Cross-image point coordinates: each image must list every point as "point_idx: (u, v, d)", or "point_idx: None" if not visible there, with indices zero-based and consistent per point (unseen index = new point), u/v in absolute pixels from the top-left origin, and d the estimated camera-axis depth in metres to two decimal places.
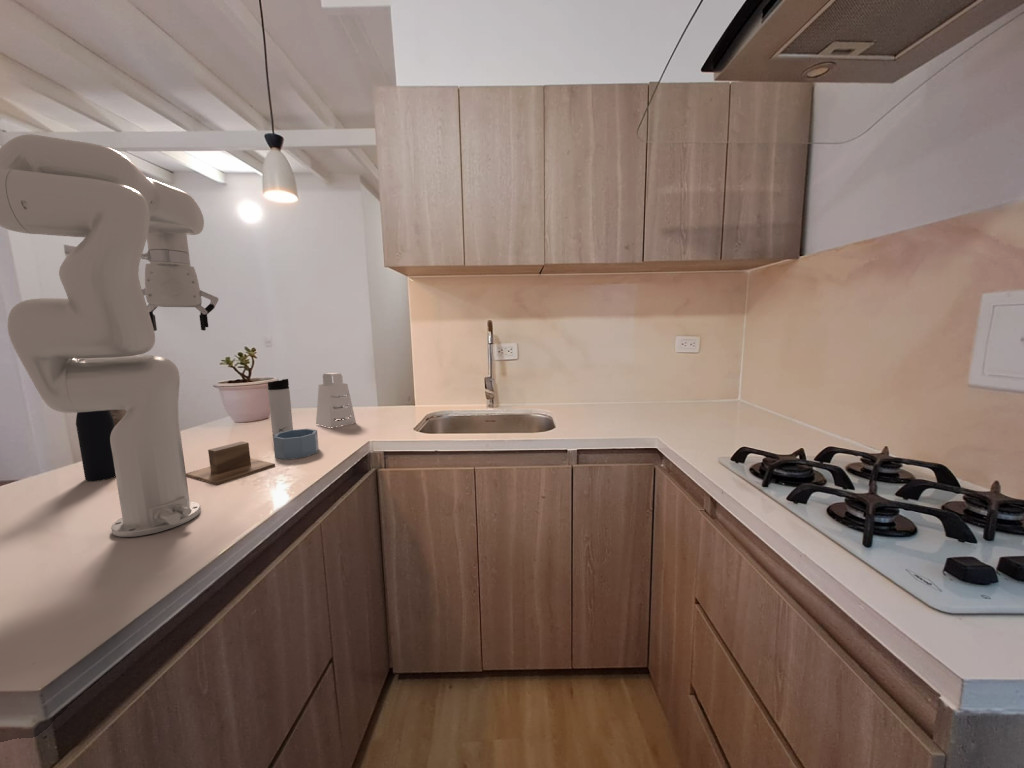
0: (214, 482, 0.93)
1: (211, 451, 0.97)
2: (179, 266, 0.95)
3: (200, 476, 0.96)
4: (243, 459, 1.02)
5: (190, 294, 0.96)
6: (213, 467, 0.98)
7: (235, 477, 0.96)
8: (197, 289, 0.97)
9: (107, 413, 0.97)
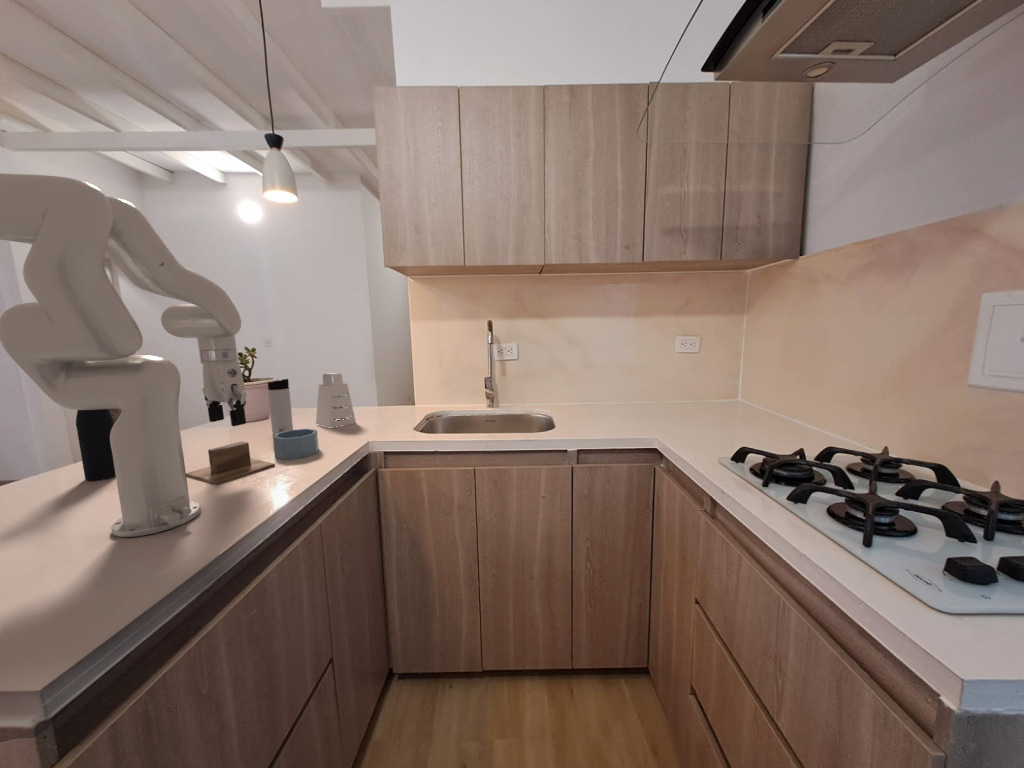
0: (214, 482, 0.93)
1: (211, 451, 0.97)
2: None
3: (200, 476, 0.96)
4: (243, 459, 1.02)
5: None
6: (213, 467, 0.98)
7: (235, 477, 0.96)
8: None
9: (107, 413, 0.97)
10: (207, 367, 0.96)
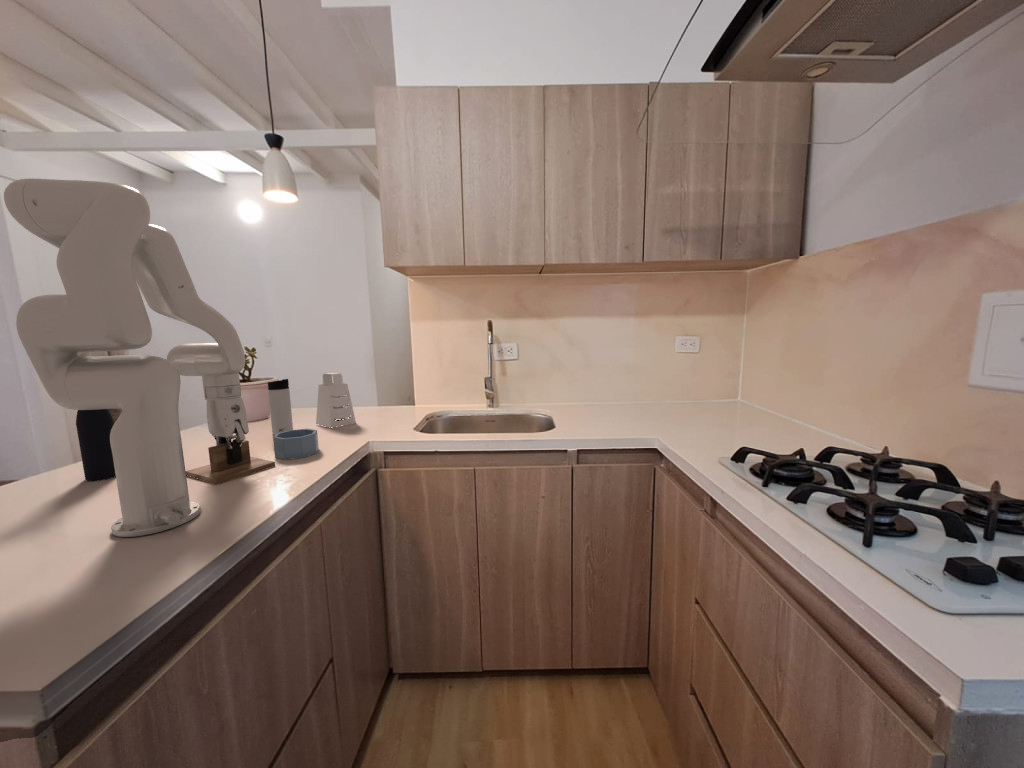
0: (214, 480, 0.93)
1: (211, 449, 0.97)
2: None
3: (200, 474, 0.96)
4: (243, 457, 1.02)
5: None
6: (213, 465, 0.98)
7: (235, 475, 0.96)
8: None
9: (107, 413, 0.97)
10: (211, 403, 0.97)
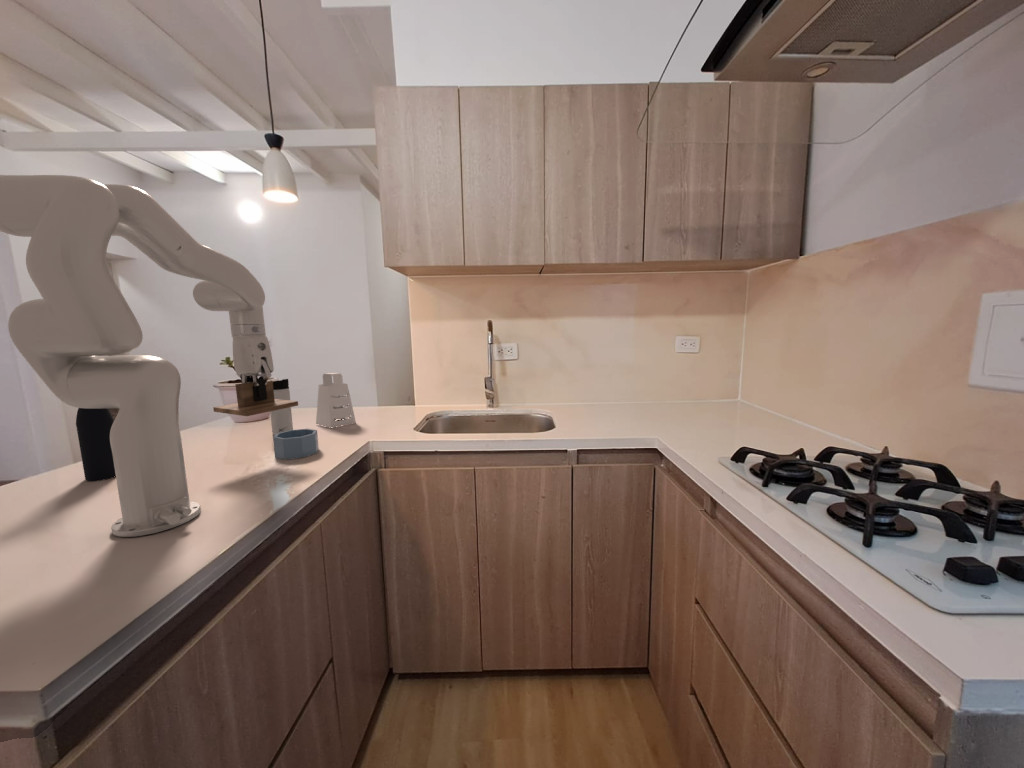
0: (244, 412, 0.97)
1: (238, 385, 1.01)
2: None
3: (228, 408, 1.00)
4: (267, 396, 1.07)
5: None
6: (240, 401, 1.02)
7: (262, 409, 1.00)
8: None
9: (107, 413, 0.97)
10: (238, 341, 1.01)
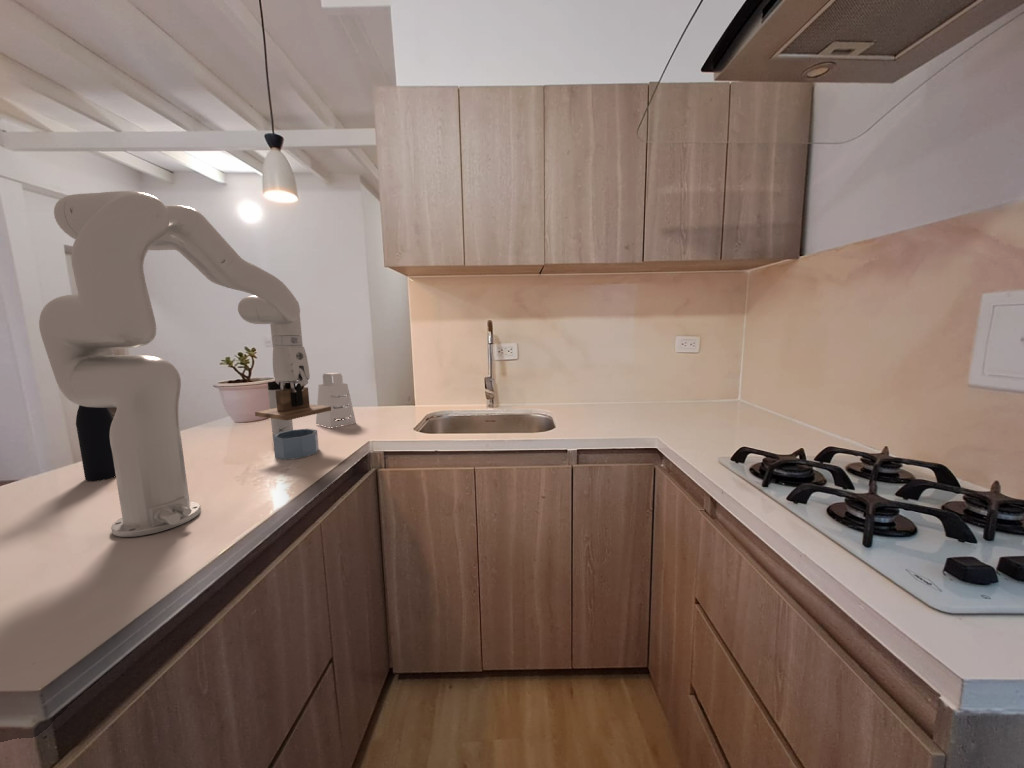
0: (284, 416, 1.05)
1: (278, 391, 1.10)
2: None
3: (269, 413, 1.09)
4: (303, 401, 1.15)
5: None
6: (280, 406, 1.10)
7: (300, 414, 1.08)
8: None
9: (107, 413, 0.97)
10: (278, 351, 1.10)
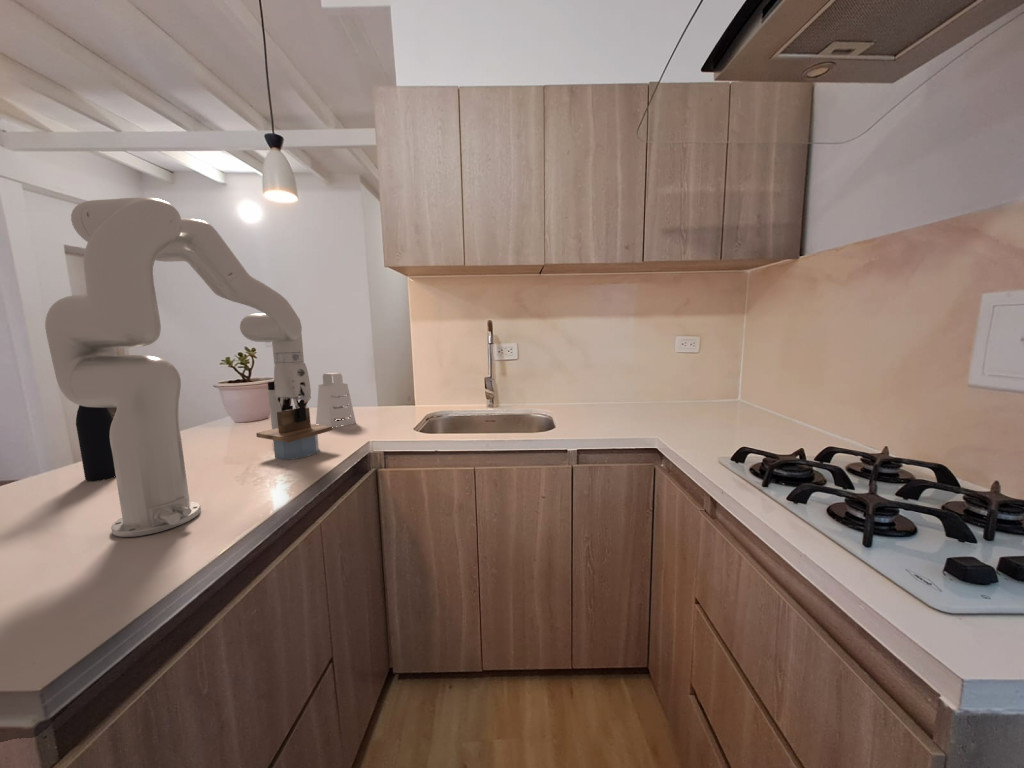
0: (285, 438, 1.06)
1: (280, 413, 1.10)
2: None
3: (271, 434, 1.09)
4: (304, 422, 1.16)
5: None
6: (281, 427, 1.11)
7: (302, 435, 1.09)
8: None
9: (107, 413, 0.97)
10: (279, 368, 1.10)
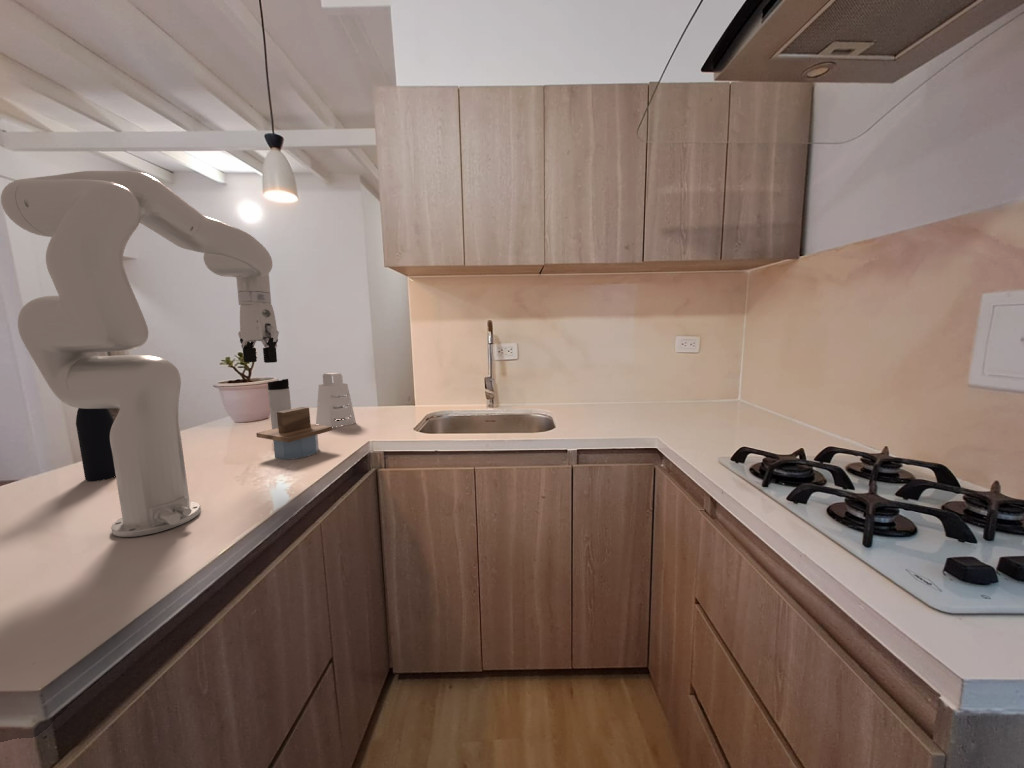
0: (285, 438, 1.06)
1: (280, 413, 1.10)
2: None
3: (271, 434, 1.09)
4: (304, 422, 1.16)
5: None
6: (281, 427, 1.11)
7: (302, 435, 1.09)
8: None
9: (107, 413, 0.97)
10: (244, 308, 1.05)
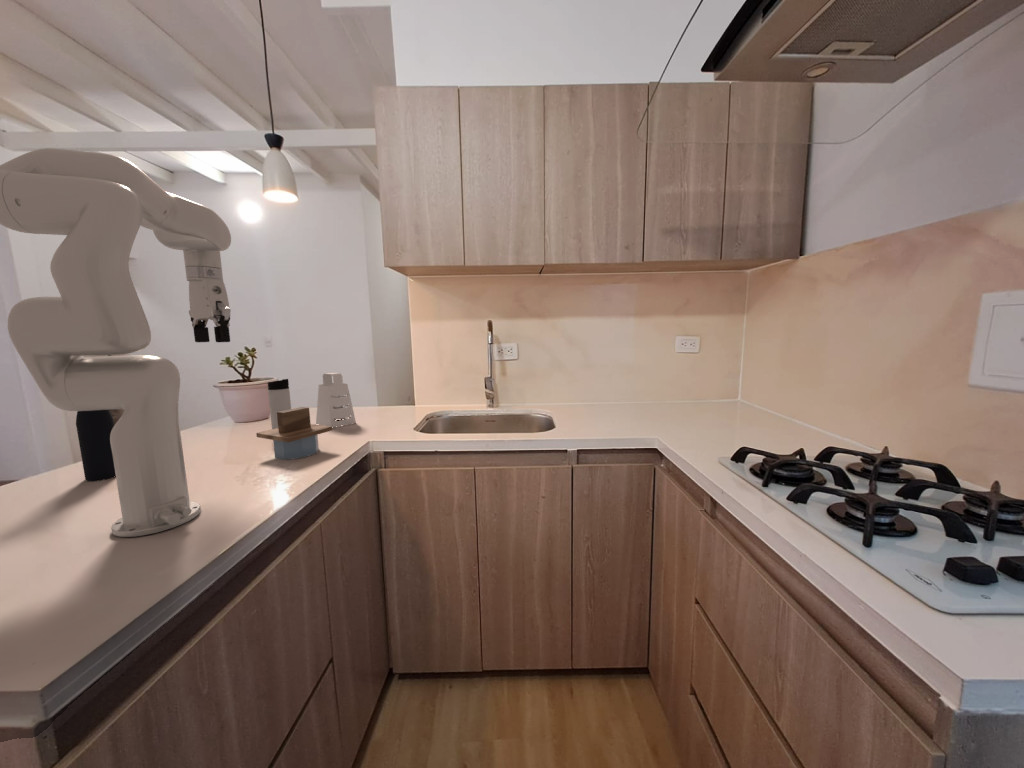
0: (285, 438, 1.06)
1: (280, 413, 1.10)
2: None
3: (271, 434, 1.09)
4: (304, 422, 1.16)
5: None
6: (281, 427, 1.11)
7: (302, 435, 1.09)
8: None
9: (107, 413, 0.97)
10: (193, 285, 0.99)
